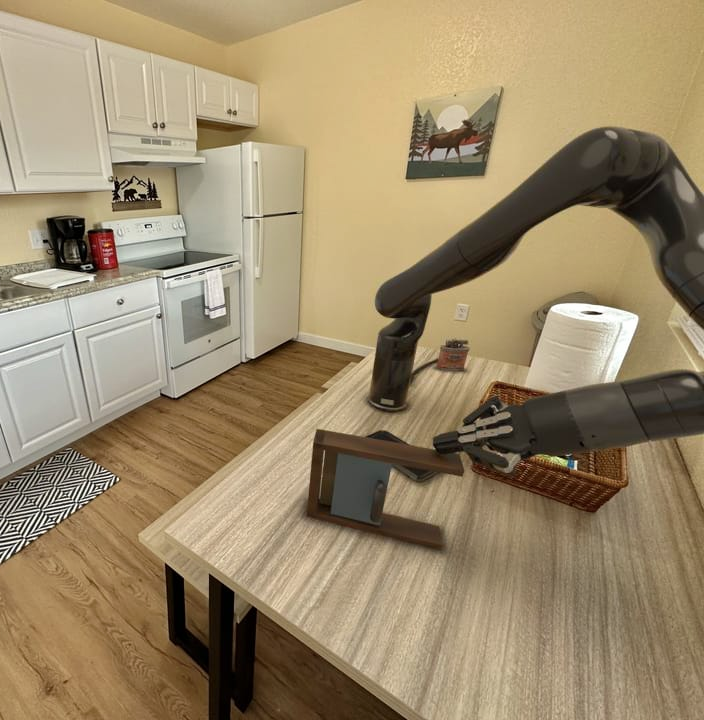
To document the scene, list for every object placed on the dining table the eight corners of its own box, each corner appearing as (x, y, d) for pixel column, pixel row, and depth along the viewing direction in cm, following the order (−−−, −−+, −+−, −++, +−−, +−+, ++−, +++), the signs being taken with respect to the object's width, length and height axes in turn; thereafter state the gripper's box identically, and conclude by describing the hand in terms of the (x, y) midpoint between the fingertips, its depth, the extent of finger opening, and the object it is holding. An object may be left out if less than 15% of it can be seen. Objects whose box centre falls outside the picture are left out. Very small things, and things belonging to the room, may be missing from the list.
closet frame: (309, 500, 71) (316, 428, 64) (437, 531, 64) (459, 453, 58) (306, 516, 67) (313, 442, 61) (441, 550, 61) (464, 470, 54)
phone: (383, 428, 89) (444, 465, 77) (382, 432, 90) (443, 469, 78) (359, 439, 86) (419, 478, 74) (358, 443, 86) (418, 483, 74)
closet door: (331, 509, 67) (338, 449, 62) (380, 521, 64) (392, 459, 59) (328, 526, 64) (336, 463, 58) (380, 539, 61) (393, 475, 56)
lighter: (437, 370, 119) (444, 340, 115) (434, 366, 122) (440, 336, 118) (465, 372, 118) (473, 341, 114) (461, 367, 121) (468, 337, 117)
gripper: (559, 363, 50) (424, 398, 61) (583, 440, 41) (420, 464, 53) (582, 402, 52) (447, 429, 63) (610, 484, 43) (447, 498, 55)
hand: (435, 445), depth 58 cm, fingers closed
